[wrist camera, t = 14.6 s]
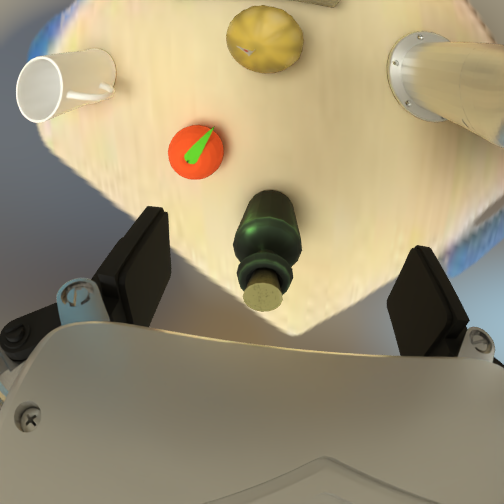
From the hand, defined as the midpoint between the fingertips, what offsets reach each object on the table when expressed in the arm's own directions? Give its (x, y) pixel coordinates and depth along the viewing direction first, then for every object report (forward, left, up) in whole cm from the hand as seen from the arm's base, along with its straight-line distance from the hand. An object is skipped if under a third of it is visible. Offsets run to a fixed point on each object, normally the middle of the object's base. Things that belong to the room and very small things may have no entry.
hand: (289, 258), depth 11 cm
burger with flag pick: (+3, -9, -31) cm, 32 cm away
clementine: (+10, +5, -31) cm, 33 cm away
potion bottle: (0, +14, -31) cm, 34 cm away
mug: (+26, -4, -31) cm, 40 cm away
